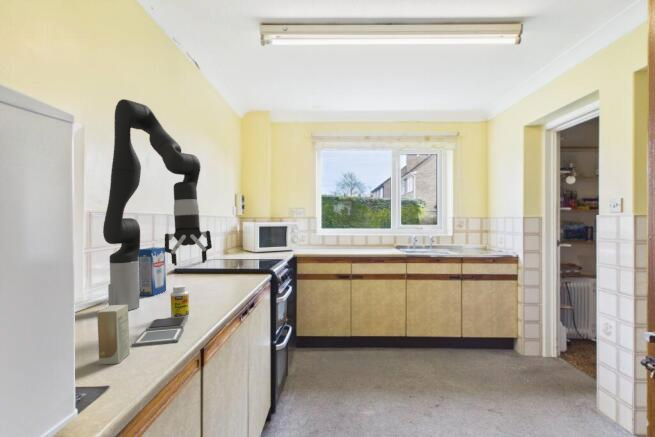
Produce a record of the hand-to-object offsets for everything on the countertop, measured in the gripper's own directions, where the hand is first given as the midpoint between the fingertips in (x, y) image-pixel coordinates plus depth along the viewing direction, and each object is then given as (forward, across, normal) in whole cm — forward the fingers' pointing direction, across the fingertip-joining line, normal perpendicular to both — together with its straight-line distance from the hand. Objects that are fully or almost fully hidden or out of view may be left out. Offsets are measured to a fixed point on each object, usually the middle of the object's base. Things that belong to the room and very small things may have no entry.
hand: (189, 264), depth 120 cm
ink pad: (+18, +7, +5) cm, 20 cm away
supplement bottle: (+18, +4, -5) cm, 19 cm away
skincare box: (+19, +18, +29) cm, 39 cm away
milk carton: (+15, +15, -51) cm, 55 cm away
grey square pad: (+18, +9, +16) cm, 26 cm away
